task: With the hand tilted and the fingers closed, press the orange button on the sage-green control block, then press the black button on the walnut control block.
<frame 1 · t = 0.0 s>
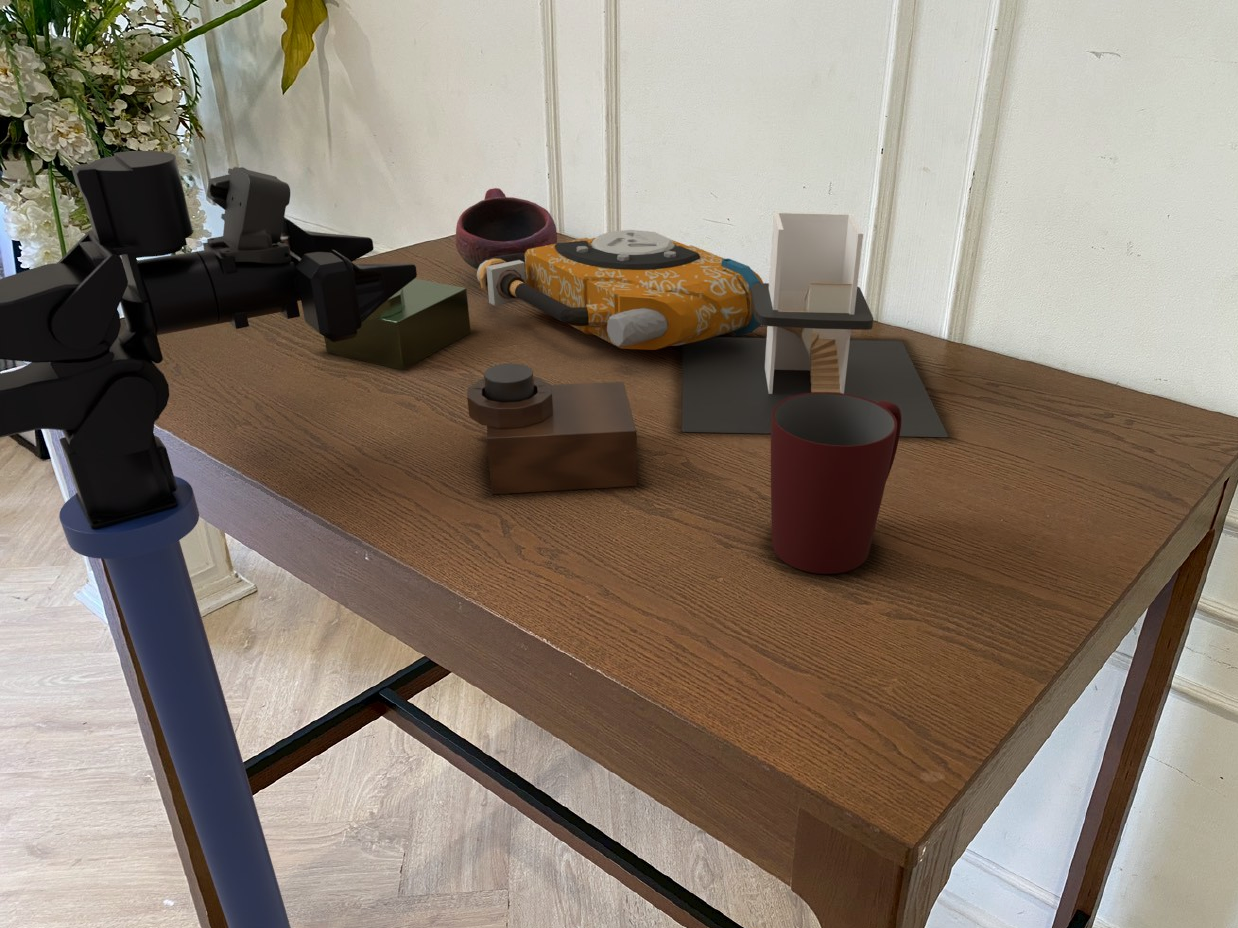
hand: (393, 256, 88), 15 cm above the table, tool horizontal, fingers open, 9 cm apart
device: (615, 323, 117), on the table, touching bowl, dark square-based piece
green block: (400, 342, 111), on the table
walnut block: (561, 462, 88), on the table
orange button: (366, 285, 104), point 8 cm above the table, slide at 0.1 cm
bowl: (501, 270, 129), point 1 cm above the table, touching device
dark square-based piece: (802, 383, 105), on the table, touching device
mug: (833, 543, 79), on the table
black button: (509, 384, 84), point 8 cm above the table, slide at 0.1 cm
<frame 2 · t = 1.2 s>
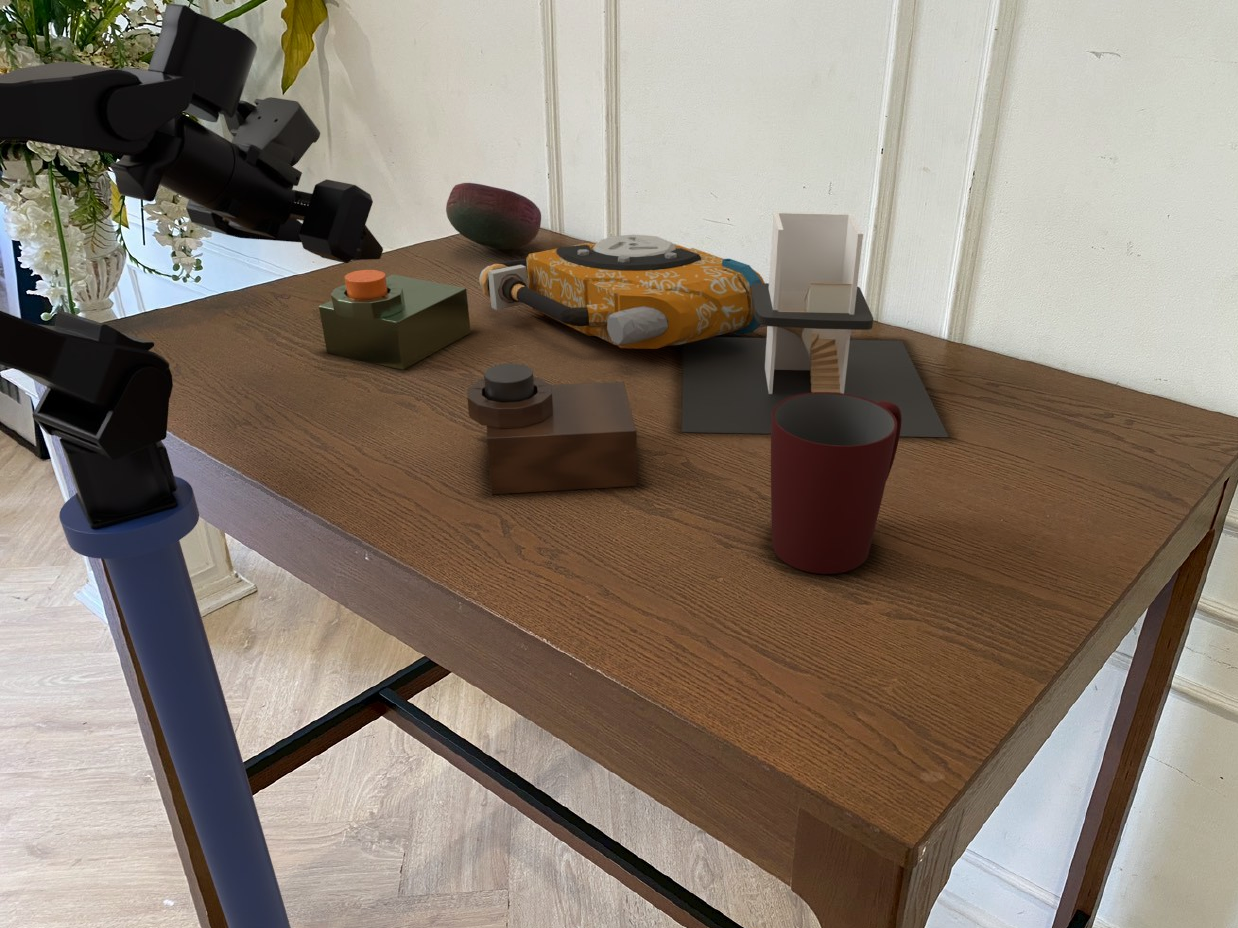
hand: (344, 245, 96), 13 cm above the table, tool tilted 55°, fingers open, 9 cm apart
device: (617, 326, 116), on the table, touching dark square-based piece
bowl: (480, 248, 136), point 1 cm above the table
everything else where it was.
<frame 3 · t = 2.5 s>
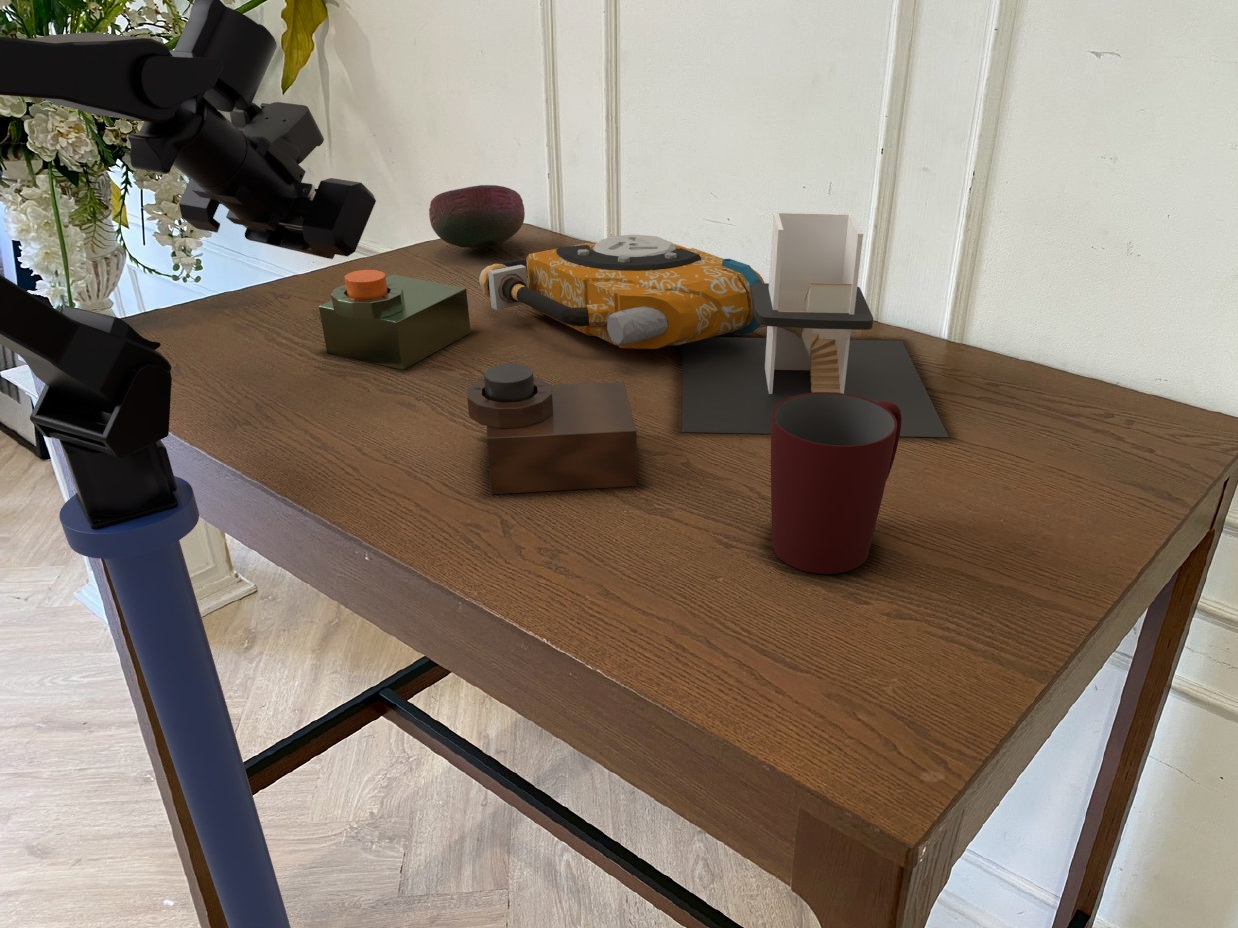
hand: (332, 254, 98), 12 cm above the table, tool tilted 45°, fingers closed
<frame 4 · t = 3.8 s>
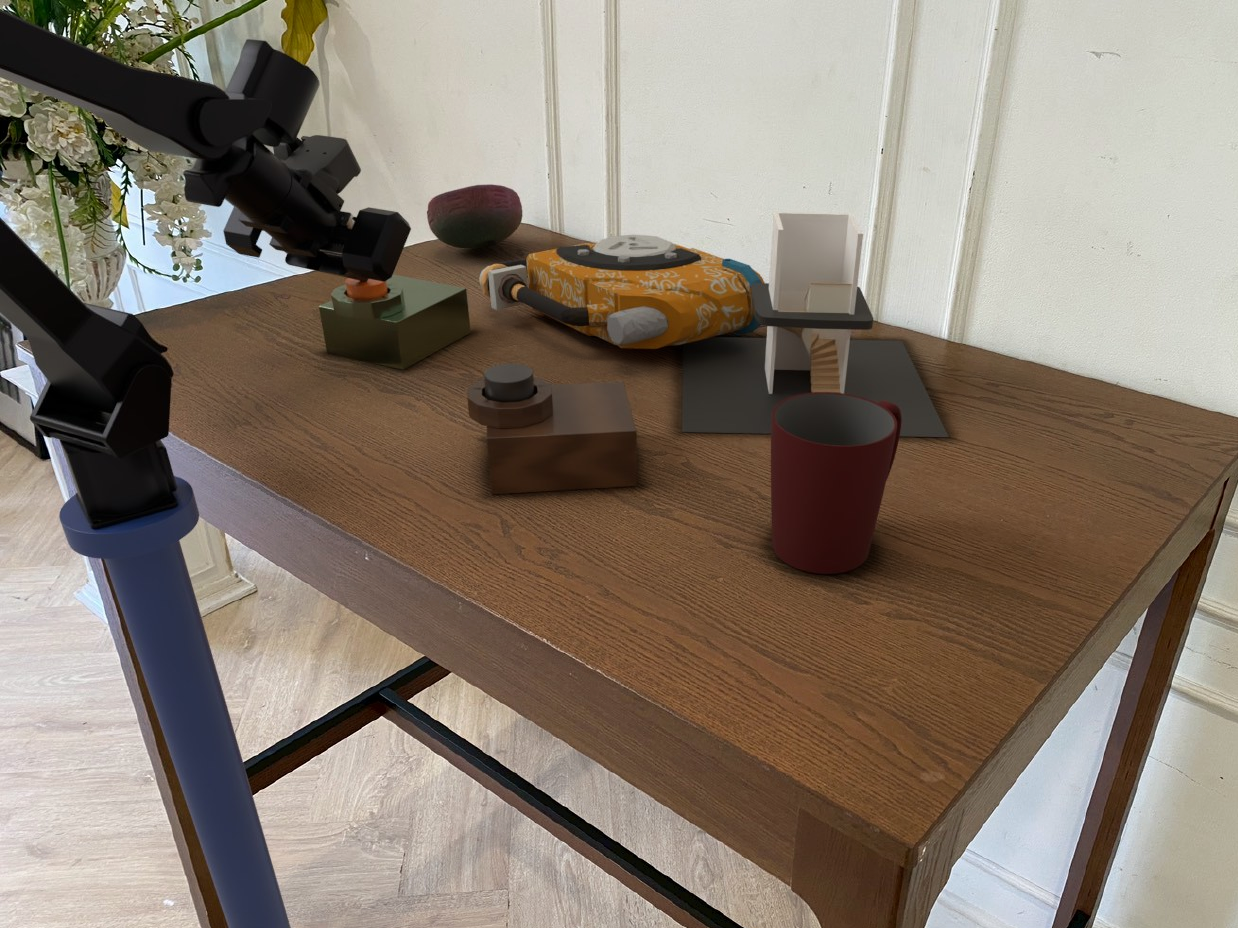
hand: (366, 276, 103), 9 cm above the table, tool tilted 45°, fingers closed, pressing on orange button
orange button: (367, 289, 104), point 7 cm above the table, slide at -0.4 cm, touching gripper
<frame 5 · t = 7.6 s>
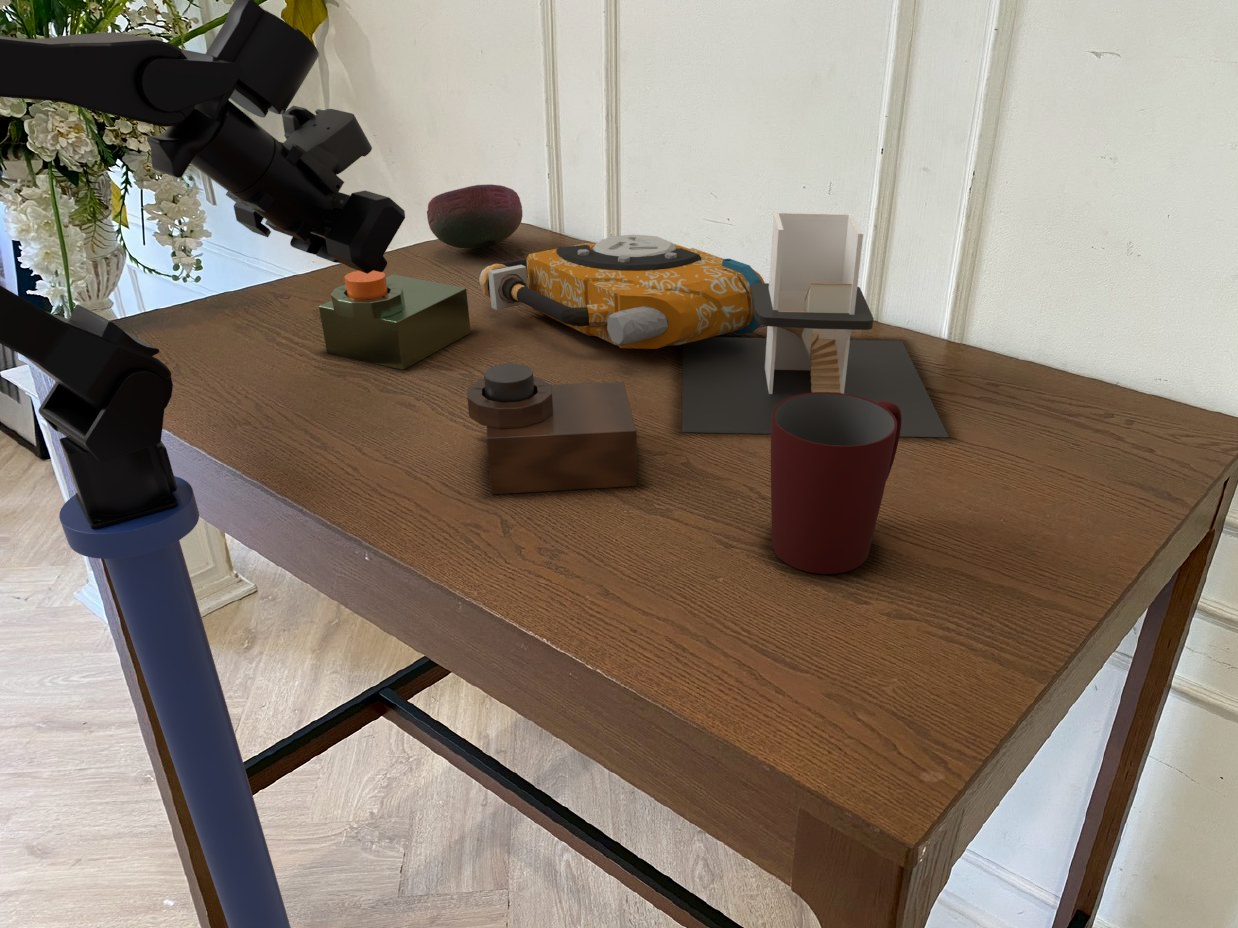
hand: (382, 267, 94), 12 cm above the table, tool tilted 45°, fingers closed
orange button: (366, 285, 104), point 8 cm above the table, slide at 0.1 cm
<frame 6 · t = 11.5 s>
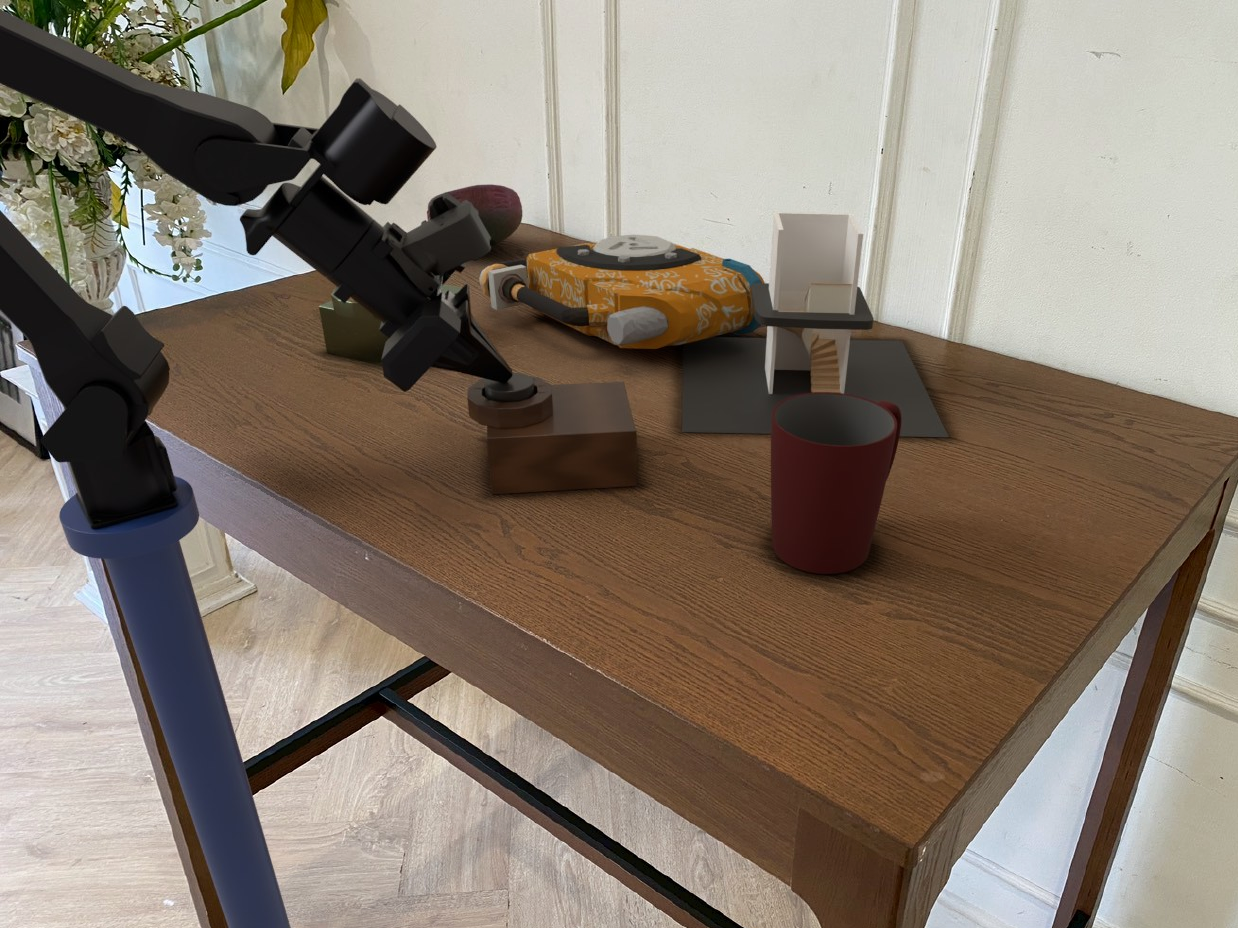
hand: (509, 377, 83), 8 cm above the table, tool tilted 45°, fingers closed, pressing on black button
black button: (509, 393, 84), point 7 cm above the table, slide at -0.7 cm, touching gripper
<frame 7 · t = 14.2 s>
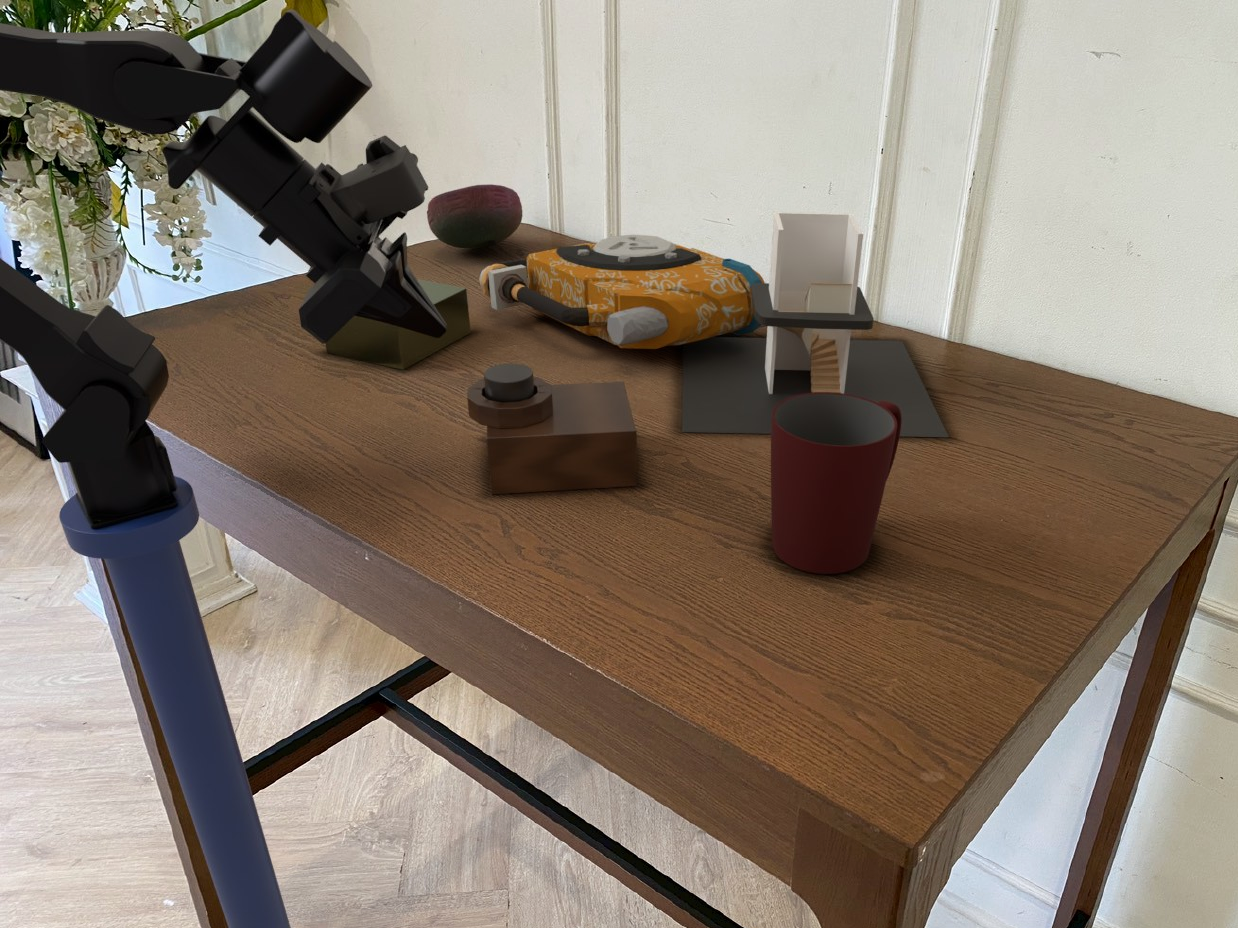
hand: (443, 332, 81), 12 cm above the table, tool tilted 40°, fingers closed
black button: (509, 384, 84), point 8 cm above the table, slide at 0.1 cm
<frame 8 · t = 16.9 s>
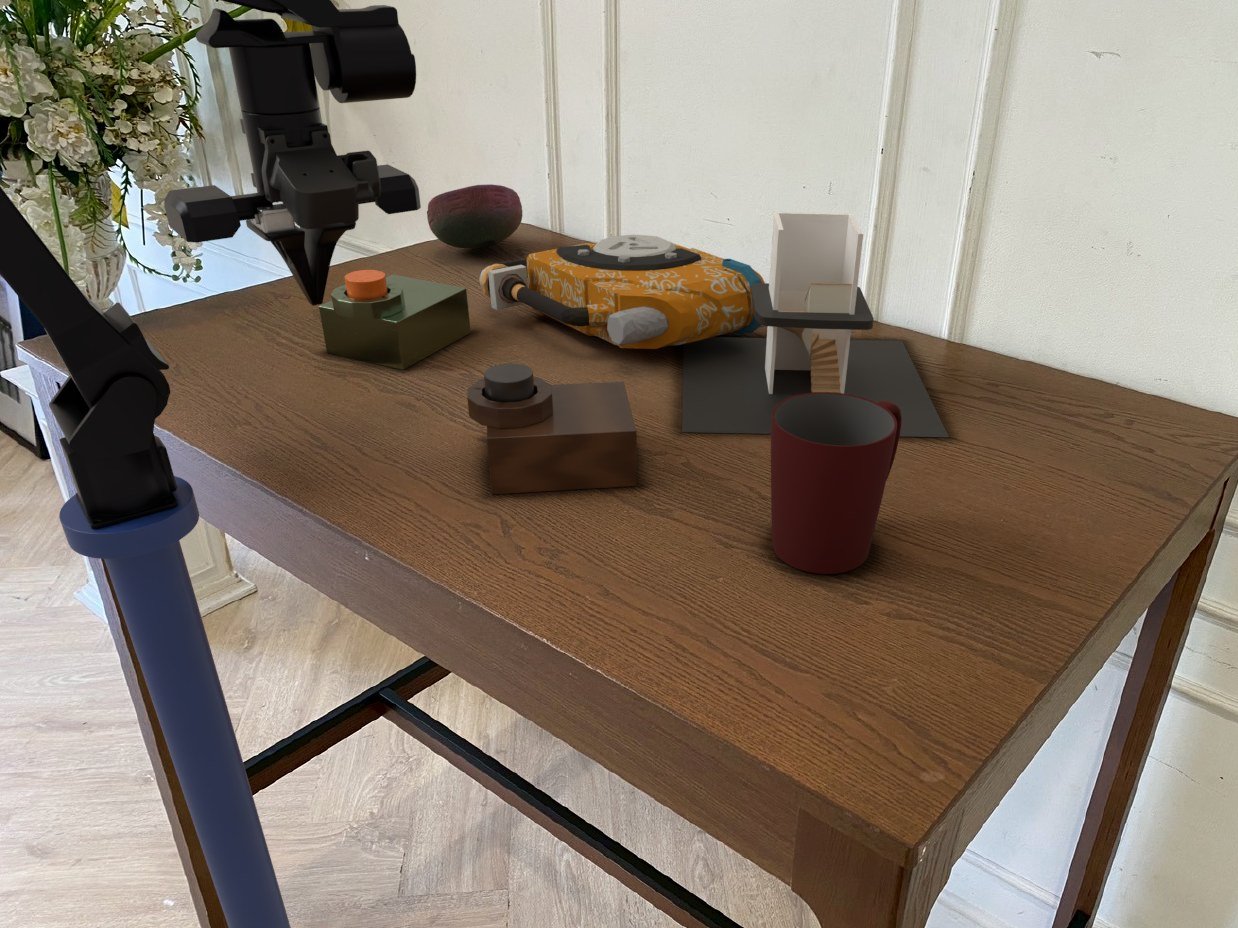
hand: (315, 303, 86), 12 cm above the table, tool pointing down, fingers closed
at the end: orange button pushed in 1.2 cm at the most during the clip, back to where it started at the end; black button pushed in 1.2 cm at the most during the clip, back to where it started at the end; black button slide at 0.1 cm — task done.
